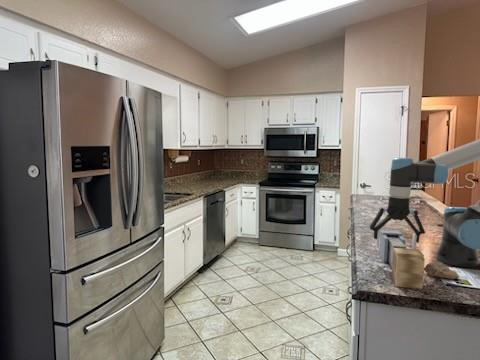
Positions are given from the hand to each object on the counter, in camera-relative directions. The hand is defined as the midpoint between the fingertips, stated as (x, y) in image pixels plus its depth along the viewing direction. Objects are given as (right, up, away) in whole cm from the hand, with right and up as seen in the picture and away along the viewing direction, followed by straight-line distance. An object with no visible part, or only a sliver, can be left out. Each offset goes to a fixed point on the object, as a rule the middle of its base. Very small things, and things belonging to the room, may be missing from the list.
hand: (395, 248), depth 134 cm
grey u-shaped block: (+2, -6, +8) cm, 11 cm away
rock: (+13, -9, -9) cm, 18 cm away
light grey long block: (+1, -7, +4) cm, 8 cm away
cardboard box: (-4, -9, -16) cm, 18 cm away
